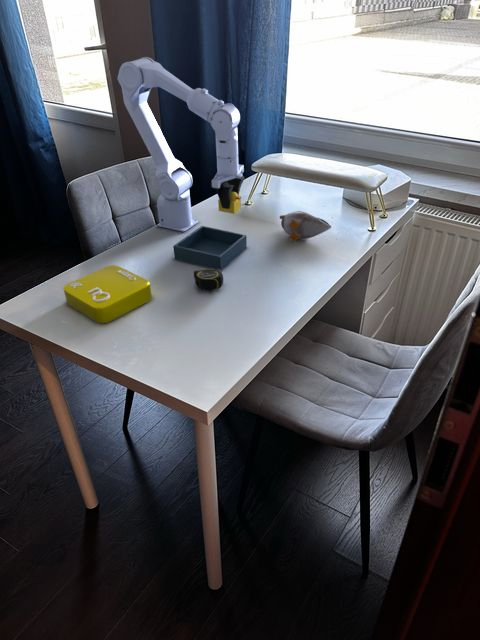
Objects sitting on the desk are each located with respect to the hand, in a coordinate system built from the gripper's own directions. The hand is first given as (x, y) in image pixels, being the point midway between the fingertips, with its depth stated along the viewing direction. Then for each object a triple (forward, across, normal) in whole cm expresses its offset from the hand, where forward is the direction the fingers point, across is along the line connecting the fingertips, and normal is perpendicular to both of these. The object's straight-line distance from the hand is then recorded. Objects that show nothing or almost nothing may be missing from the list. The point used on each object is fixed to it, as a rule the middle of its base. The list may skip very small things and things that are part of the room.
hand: (229, 205), depth 142 cm
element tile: (+8, -45, +8) cm, 46 cm away
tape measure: (+8, -29, -10) cm, 32 cm away
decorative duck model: (+8, +8, -20) cm, 23 cm away
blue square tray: (+8, -14, -2) cm, 16 cm away
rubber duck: (+1, 0, 0) cm, 1 cm away
